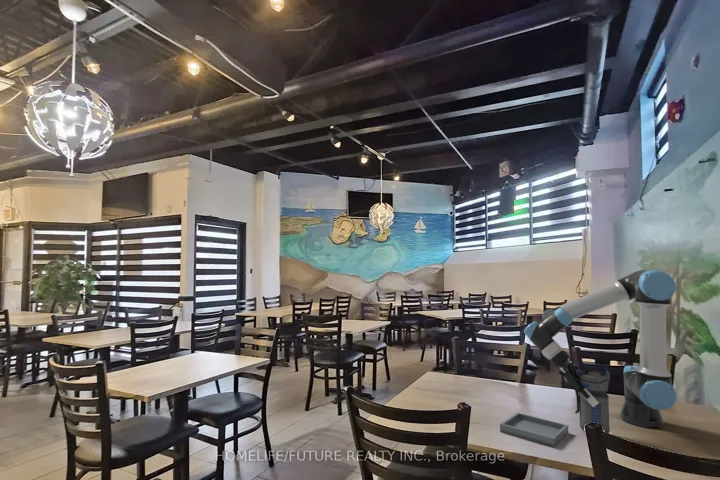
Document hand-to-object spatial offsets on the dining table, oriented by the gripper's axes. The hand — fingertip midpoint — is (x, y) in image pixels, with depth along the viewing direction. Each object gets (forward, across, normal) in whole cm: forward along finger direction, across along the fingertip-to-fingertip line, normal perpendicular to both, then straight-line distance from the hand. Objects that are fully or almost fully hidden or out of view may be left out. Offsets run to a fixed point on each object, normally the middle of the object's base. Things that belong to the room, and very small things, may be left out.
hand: (599, 401), depth 156 cm
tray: (-5, +15, -23) cm, 28 cm away
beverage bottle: (+7, 0, -11) cm, 13 cm away
